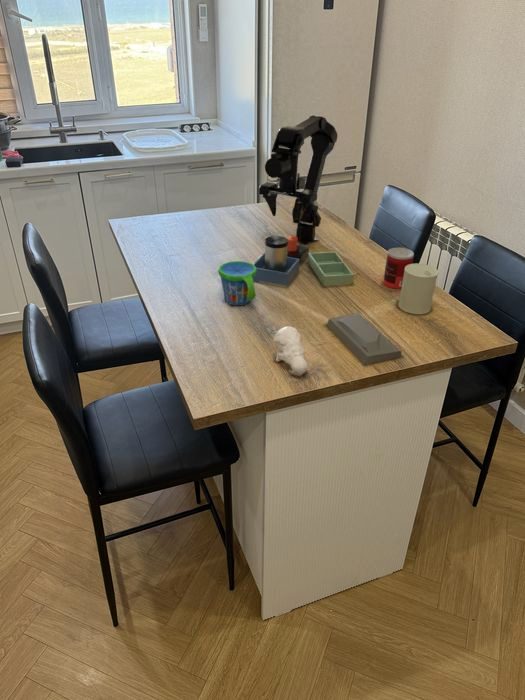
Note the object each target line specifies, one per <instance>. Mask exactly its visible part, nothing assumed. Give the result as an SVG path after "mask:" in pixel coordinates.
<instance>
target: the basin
mask: <svg viewBox="0 0 525 700" xmlns="http://www.w3.org/2000/svg"><path fill="white" fill-rule="evenodd" d="M252 264H253V265H254V266H255V267H256V269H257V273H256V275H255V277H254V283H259V284H260V283H261V282H263V283H268V284H274V285H279V286H285V287H288V286H289V285H290V283H291V282H292V280H293V279H294V278H295V277H296V276H297V274H298V273H299V272H300V265H301V264H300V259H298V258H292V257H287V264H286V273H284V272H279V271H273V270H267V269H265V252H263V253H262V254H261V255H260V256H259V257H258V258H257V259H256V260H255V261H254V263H252Z"/></svg>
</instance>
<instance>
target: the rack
mask: <svg viewBox="0 0 525 700" xmlns="http://www.w3.org/2000/svg"><path fill="white" fill-rule="evenodd" d="M307 263H308V264H309V266H310V267H311V268H312V270H313V271H314V273H315V275H316V276H317V278H318V280H319V281H320V283H321V284H322V286H338V285H350V284H354V279H355V278H354V277H355V274H354V273H353V271H352V270H351V269H350V268H349V266H348V265H347V264H346V263H345V261H344V260H343V258H342V257H341V256H340V255H339V254H338V252H337V251H336V250H333V251H321V252H320V251H319V252H309V253H308V255H307Z"/></svg>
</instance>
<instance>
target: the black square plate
mask: <svg viewBox="0 0 525 700" xmlns="http://www.w3.org/2000/svg"><path fill="white" fill-rule="evenodd" d="M308 253H310V246H309V245H304V244H297V250H296V251H292V252H291V251H287V257H292V258H298V259H300V265H301V264H302V263H303V262H304V260H305V259H306V258H308Z"/></svg>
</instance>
